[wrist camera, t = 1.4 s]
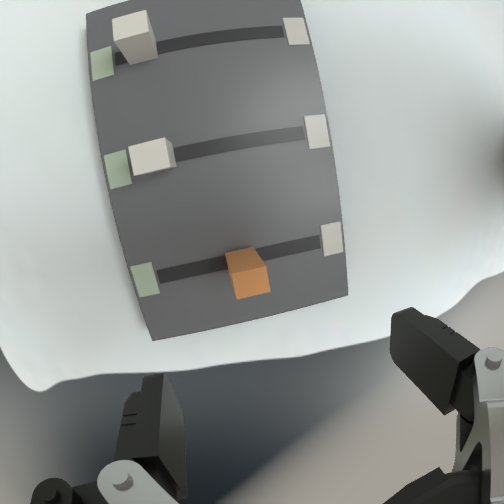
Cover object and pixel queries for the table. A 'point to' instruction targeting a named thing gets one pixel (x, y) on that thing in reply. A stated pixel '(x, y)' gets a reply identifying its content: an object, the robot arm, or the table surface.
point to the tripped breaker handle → (247, 273)
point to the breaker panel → (216, 156)
